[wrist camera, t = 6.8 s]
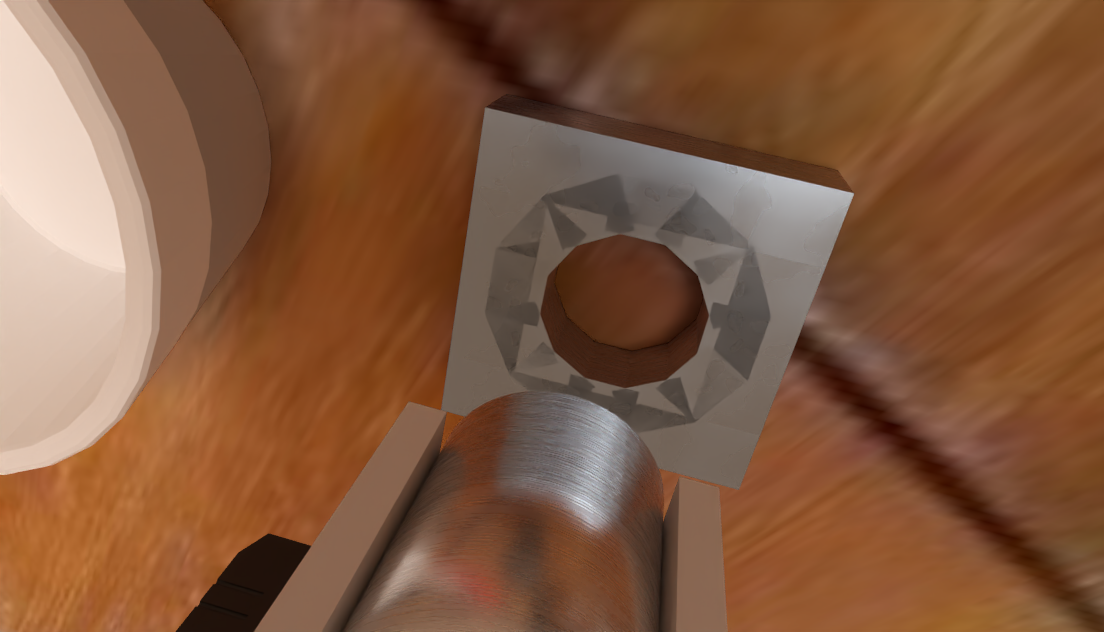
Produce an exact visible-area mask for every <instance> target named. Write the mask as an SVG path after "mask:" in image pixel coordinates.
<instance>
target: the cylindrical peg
mask: <svg viewBox="0 0 1104 632" xmlns="http://www.w3.org/2000/svg"><path fill="white" fill-rule="evenodd" d="M663 508H664V493H663V484H662V479H661V475H660V471H659V469H658V466H657V464H656V461H655V459H654V457H653V455H652V454H651V452H650V450H649V448H648V447H647V446H646V444H645V443H644V442H643V440H642V439H641V438H640V436H639V435H638V434H637V433H636V432H635V431H634V430H633V429H632V428H631V427H630V426H629V425H628V424H626V423H625V422H624V421H623V420H621V419H620V418H619V417H618V416H616V415H615V414H613V413H611V412H610V411H608V410H607V409H605V408H603V407H601V406H599V405H597V404H595V403H593V402H590V401H588V400H585V399H582V398H579V397H576V396H573V395H568V394H563V393H559V392H548V391H526V392H519V393H512V394H509V395H505V396H501V397H498V398H496V399H493V400H491V401H489V402H486V403H484V404H483V405H481V406H479V407H478V408H476V409H474V410H473V411H472V412H470V413H469V414H468V415H467V416H466V417H464V418H463V419H462V420H461V421H460V423H459V424H458V425H457V426H456V427H455V428H454V430H453V431H452V433H451V434H450V436H449V438H448V439H447V441H446V443H445V445H444V446H443V448H442V450H441V452H440V454H439V456H438V457H437V459H436V461H435V463H434V465H433V467H432V468H431V470H430V472H429V474H428V476H427V478H426V479H425V481H424V483H423V485H422V487H421V488H420V490H419V492H418V494H417V496H416V498H415V499H414V501H413V503H412V505H411V507H410V509H409V510H408V512H407V514H406V516H405V518H404V519H403V521H402V523H401V525H400V527H399V529H398V530H397V532H396V534H395V536H394V538H393V540H392V541H391V543H390V545H389V547H388V549H387V551H386V552H385V554H384V556H383V558H382V560H381V561H380V563H379V565H378V567H377V569H376V571H375V572H374V574H373V576H372V578H371V580H370V582H369V583H368V585H367V587H366V589H365V591H364V593H363V594H362V596H361V598H360V600H359V602H358V603H357V605H356V607H355V609H354V611H353V613H352V614H351V616H350V618H349V620H348V622H347V624H346V625H345V627H344V629H343V631H342V632H659V608H660V583H661V558H662V533H663Z"/></svg>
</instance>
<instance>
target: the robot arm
mask: <svg viewBox="0 0 1104 632" xmlns="http://www.w3.org/2000/svg"><path fill="white" fill-rule="evenodd" d="M446 413H447V412H445V411H441V410H438V409H434V408H431V407H427V406H423V405H420V404H416V403H413V402H408V404H407V405H406V407H405V408H404V410H403V411H402V413H401V414H400V416H399V417H398V418H397V420H396V421H395V423H394V424H393V426H392V427H391V429H390V430H389V432H388V433H387V435H386V436H385V438H384V439H383V441H382V442H381V444H380V445H379V447H378V448H377V450H376V451H375V453H374V454H373V456H372V457H371V459H370V460H369V462H368V463H367V465H366V466H365V467H364V469H363V470H362V472H361V473H360V475H359V476H358V478H357V479H356V481H355V482H354V484H353V485H352V487H351V488H350V490H349V491H348V493H347V494H346V496H345V497H344V499H343V500H342V502H341V503H340V505H339V506H338V508H337V509H336V511H335V512H334V514H333V515H332V517H331V518H330V519H329V521H328V522H327V524H326V525H325V527H324V528H323V530H322V531H321V533H320V534H319V536H318V537H317V539H316V540H315V542H314V543H313V545H312V546H310V545H306V544H303V543H299V542H296V541H293V540H289V539H286V538H282V537H279V536H276V535H272V534H267V535H266V536H264V537H262V538H261V539H259V540H258V541H256V542H255V543H253V544H251V545H250V546H248V547H247V548H245V549H243V550H242V551H240V552H239V553H238V554H237V555H236V556H235V558H234V559H233V560H232V561H231V563H230V564H229V565H228V566H227V568H226V569H225V570H224V572H223V573H222V574H221V575H220V577H219V578H218V580H217V583H216V584H213V585H212V587H211V588H210V589H209V590H208V592H207V593H206V594H205V595H204V597H203V598H202V599H201V600H200V604H199V606H198V607H197V606H196V607H195V608H194V609H193V611H192V612H191V613H190V614H189V616H188V617H187V618H186V619H185V621H184V622H183V623H182V624H181V626H180V627H179V628H178V629H177V631H176V632H342V631H343V629H344V627H345V625H346V624H347V622H348V620H349V618H350V616H351V614H352V613H353V611H354V609H355V607H356V605H357V603H358V602H359V600H360V598H361V596H362V594H363V593H364V591H365V589H366V587H367V585H368V583H369V582H370V580H371V578H372V576H373V574H374V572H375V571H376V569H377V567H378V565H379V563H380V561H381V560H382V558H383V556H384V554H385V552H386V551H387V549H388V547H389V545H390V543H391V541H392V540H393V538H394V536H395V534H396V532H397V530H398V529H399V527H400V525H401V523H402V521H403V519H404V518H405V516H406V514H407V512H408V510H409V509H410V507H411V505H412V503H413V501H414V499H415V498H416V496H417V494H418V492H419V490H420V488H421V487H422V485H423V483H424V481H425V479H426V478H427V476H428V474H429V472H430V470H431V468H432V467H433V465H434V463H435V461H436V459H437V457H438V456H439V453H440V448H441V442H442V436H443V430H444V424H445V418H446ZM659 632H727V615H726V597H725V580H724V563H723V546H722V528H721V511H720V494H719V487H716V486H712V485H708V484H705V483H701V482H698V481H694V480H690V479H687V478H683V477H679V479H678V482H677V485H676V488H675V491H674V493H673V496H672V499H671V502H670V505H669V507H668V510H667V513H666V516H665V519H664V521H663V533H662V558H661V583H660V608H659Z"/></svg>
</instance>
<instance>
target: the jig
mask: <svg viewBox="0 0 1104 632" xmlns="http://www.w3.org/2000/svg"><path fill="white" fill-rule="evenodd" d="M853 195H854V192H853V191H852V190H851V188H850V187H849V185H848V184H847V183H846V181H845V180H844V178H843V177H842V176H841V174H840V173H839V172H838V170H833V169H829V168H825V167H820V166H816V165H812V164H807V163H803V162H799V161H794V160H790V159H786V158H781V157H777V156H773V155H768V154H764V153H760V152H755V151H751V150H747V149H742V148H738V147H734V146H729V145H725V144H721V143H716V142H712V141H708V140H703V139H699V138H695V137H690V136H686V135H682V134H677V133H673V132H669V131H664V130H660V129H656V128H651V127H647V126H643V125H638V124H634V123H630V122H625V121H621V120H617V119H612V118H608V117H604V116H599V115H595V114H591V113H586V112H582V111H578V110H573V109H569V108H565V107H560V106H556V105H552V104H547V103H543V102H539V101H534V100H530V99H526V98H521V97H517V96H513V95H508V94H506V95H505V96H503V97H501V98H500V99H498V100H496V101H495V102H493V103H492V104H490V105H488V106H487V107H485V112H484V119H483V126H482V133H481V140H480V147H479V154H478V160H477V167H476V174H475V181H474V188H473V195H472V202H471V208H470V215H469V222H468V229H467V236H466V243H465V250H464V257H463V263H462V270H461V277H460V284H459V291H458V298H457V305H456V311H455V318H454V325H453V332H452V339H451V346H450V353H449V360H448V366H447V373H446V380H445V387H444V394H443V401H442V408H441V410H442V411H446V412H450V413H454V414H457V415H461V416H465V417H466V416H467V415H468V414H469V413H470V412H472V411H473V410H474V409H476V408H478V407H479V406H481V405H483V404H484V403H486V402H489V401H491V400H493V399H496V398H498V397H501V396H505V395H509V394H512V393H519V392H526V391H548V392H559V393H563V394H568V395H573V396H576V397H579V398H582V399H585V400H588V401H590V402H593V403H595V404H597V405H599V406H601V407H603V408H605V409H607V410H608V411H610V412H611V413H613V414H615V415H616V416H618V417H619V418H620V419H621V420H623V421H624V422H625V423H626V424H628V425H629V426H630V427H631V428H632V429H633V430H634V431H635V432H636V433H637V434H638V435H639V436H640V438H641V439H642V440H643V442H644V443H645V444H646V446H647V447H648V448H649V450H650V452H651V454H652V455H653V457H654V459H655V461H656V464H657V466H658V468H659V469H663V470H667V471H670V472H674V473H678V474H682V475H685V476H689V477H693V478H697V479H700V480H704V481H708V482H712V483H715V484H719V485H723V486H727V487H730V488H734V489H738V490H739V488H740V485H741V483H742V480H743V478H744V475H745V472H746V470H747V467H748V465H749V462H750V460H751V457H752V455H753V452H754V449H755V447H756V444H757V442H758V439H759V437H760V434H761V431H762V429H763V426H764V424H765V421H766V419H767V416H768V413H769V411H770V408H771V406H772V403H773V401H774V398H775V395H776V393H777V390H778V388H779V385H780V383H781V380H782V377H783V375H784V372H785V370H786V367H787V365H788V362H789V359H790V357H791V354H792V352H793V349H794V347H795V344H796V342H797V339H798V336H799V334H800V331H801V329H802V326H803V324H804V321H805V318H806V316H807V313H808V311H809V308H810V306H811V303H812V300H813V298H814V295H815V293H816V290H817V288H818V285H819V282H820V280H821V277H822V275H823V272H824V270H825V267H826V264H827V262H828V259H829V257H830V254H831V252H832V249H833V246H834V244H835V241H836V239H837V236H838V234H839V231H840V228H841V226H842V223H843V221H844V218H845V216H846V213H847V211H848V208H849V205H850V203H851V200H852V198H853ZM618 234H622V235H626V236H631V237H635V238H639V239H643V240H647V241H651V242H655V243H659V244H663V245H666V246H667V247H668V248H669V249H670V250H671V251H672V252H673V253H674V254H675V255H676V256H678V257H679V258H680V259H681V260H682V261H683V262H684V263H685V264H686V265H687V266H688V267H689V268H691V269H692V270H693V271H694V272H695V273H696V274H697V275H698V277H699V281H700V284H701V288H702V292H703V295H704V298H703V301H702V304H701V308H700V311H699V314H698V317H697V319H696V320H695V321H694V322H693V323H691V324H690V325H689V326H688V327H687V328H686V329H685V330H683V331H682V332H681V333H680V334H679V335H678V336H677V337H675V338H674V339H673V340H672V341H671V342H670V343H667V344H663V345H658V346H654V347H649V348H645V349H640V350H636V351H628V350H624V349H620V348H616V347H612V346H609V345H605V344H601V343H597V342H594V341H593V340H592V339H591V338H590V337H588V336H587V335H586V334H585V333H584V332H583V331H582V330H581V329H579V328H578V327H577V326H576V325H575V324H574V323H573V322H571V321H570V320H569V319H568V318H567V317H566V314H565V311H564V309H563V306H562V303H561V300H560V297H559V295H558V292H557V289H556V286H555V283H554V282H555V278H556V273H557V268H558V264H559V263H560V262H561V261H562V260H563V259H564V258H565V257H566V256H567V255H568V254H569V253H570V252H571V251H572V250H573V249H574V248H575V247H576V246H577V245H581V244H585V243H588V242H592V241H596V240H599V239H603V238H607V237H611V236H614V235H618Z"/></svg>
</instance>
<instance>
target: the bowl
mask: <svg viewBox="0 0 1104 632" xmlns="http://www.w3.org/2000/svg"><path fill="white" fill-rule="evenodd" d="M270 172H271V151H270V140H269V128H268V124H267V120H266V116H265V113H264V109H263V105H262V101H261V98H260V94H259V90H258V88H257V86H256V84H255V81H254V79H253V77H252V75H251V73H250V70H249V68H248V66H247V64H246V61H245V59H244V57H243V55H242V53H241V52H240V50H239V48H238V47H237V45H236V44H235V42H234V41H233V39H232V38H231V36H230V35H229V33H228V31H227V30H226V28H225V27H224V25H223V24H222V22H221V21H220V19H219V18H218V17H217V16H216V15H215V14H214V13H213V12H212V10H211V9H210V8H209V7H208V6H207V5H206V4H205V3H204V1H203V0H0V475H6V474H11V473H16V472H21V471H26V470H31V469H36V468H41V467H46V466H50V465H54V464H56V463H58V462H60V461H62V460H64V459H66V458H68V457H70V456H72V455H74V454H76V453H78V452H80V451H82V450H85V449H87V448H89V447H91V446H92V445H93V444H94V443H96V442H97V441H98V440H99V439H100V438H101V437H102V436H103V435H104V434H105V433H106V432H108V431H109V430H110V429H111V428H112V427H113V426H114V425H115V424H116V423H117V422H118V421H119V420H121V419H122V418H123V417H124V415H125V414H126V412H127V411H128V410H129V408H130V407H131V405H132V404H133V403H134V401H135V400H136V398H137V397H138V396H139V394H140V393H141V392H142V390H143V389H144V387H145V386H146V385H147V383H148V382H149V380H150V379H151V378H152V376H153V375H154V373H155V372H156V371H157V369H158V368H159V367H160V365H161V364H162V362H163V361H164V360H165V358H166V357H167V355H168V354H169V353H170V351H171V350H172V348H173V347H174V346H175V344H176V343H177V341H178V340H179V338H180V336H181V335H182V333H183V331H184V330H185V328H186V327H187V326H188V324H189V323H190V321H191V320H192V319H193V317H194V316H195V314H196V313H197V312H198V310H199V309H200V307H201V306H202V305H203V303H204V302H205V301H206V299H207V298H208V296H209V295H210V294H211V292H212V291H213V289H214V288H215V287H216V285H217V284H218V283H219V281H220V280H221V278H222V277H223V276H224V274H225V273H226V271H227V270H228V269H229V267H230V266H231V265H232V263H233V262H234V260H235V259H236V258H237V256H238V255H239V253H240V252H241V251H242V249H243V248H244V246H245V245H246V243H247V241H248V240H249V238H250V236H251V235H252V233H253V231H254V230H255V228H256V227H257V225H258V223H259V221H260V218H261V215H262V212H263V209H264V206H265V203H266V199H267V196H268V192H269V182H270Z"/></svg>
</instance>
